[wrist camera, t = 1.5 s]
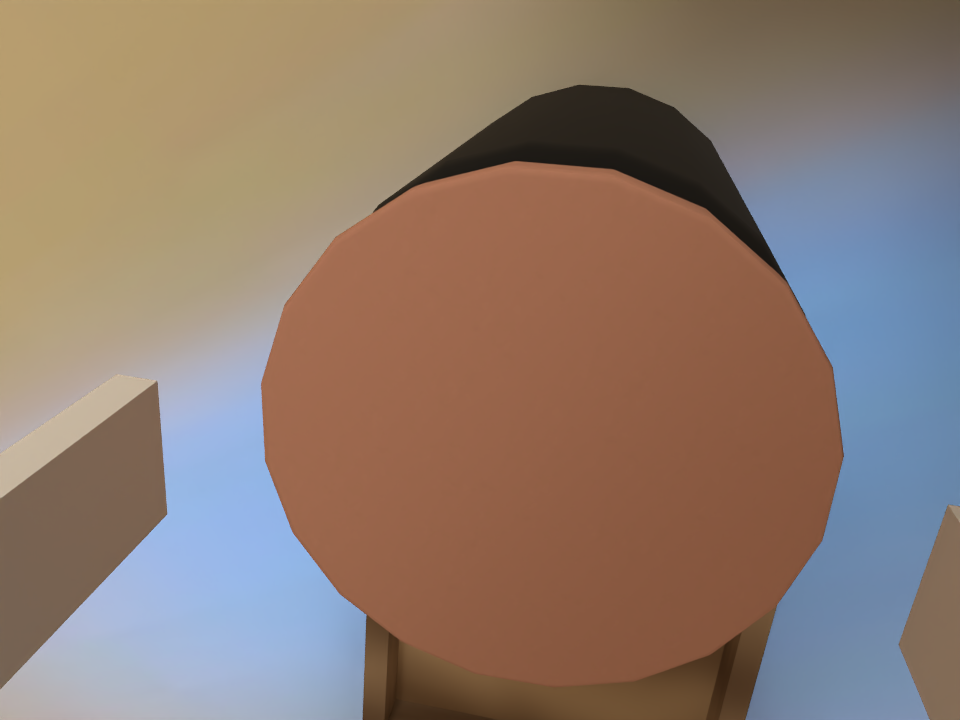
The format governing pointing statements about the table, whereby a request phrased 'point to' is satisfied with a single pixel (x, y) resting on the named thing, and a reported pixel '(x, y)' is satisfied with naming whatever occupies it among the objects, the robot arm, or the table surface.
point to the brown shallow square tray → (558, 710)
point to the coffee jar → (556, 402)
